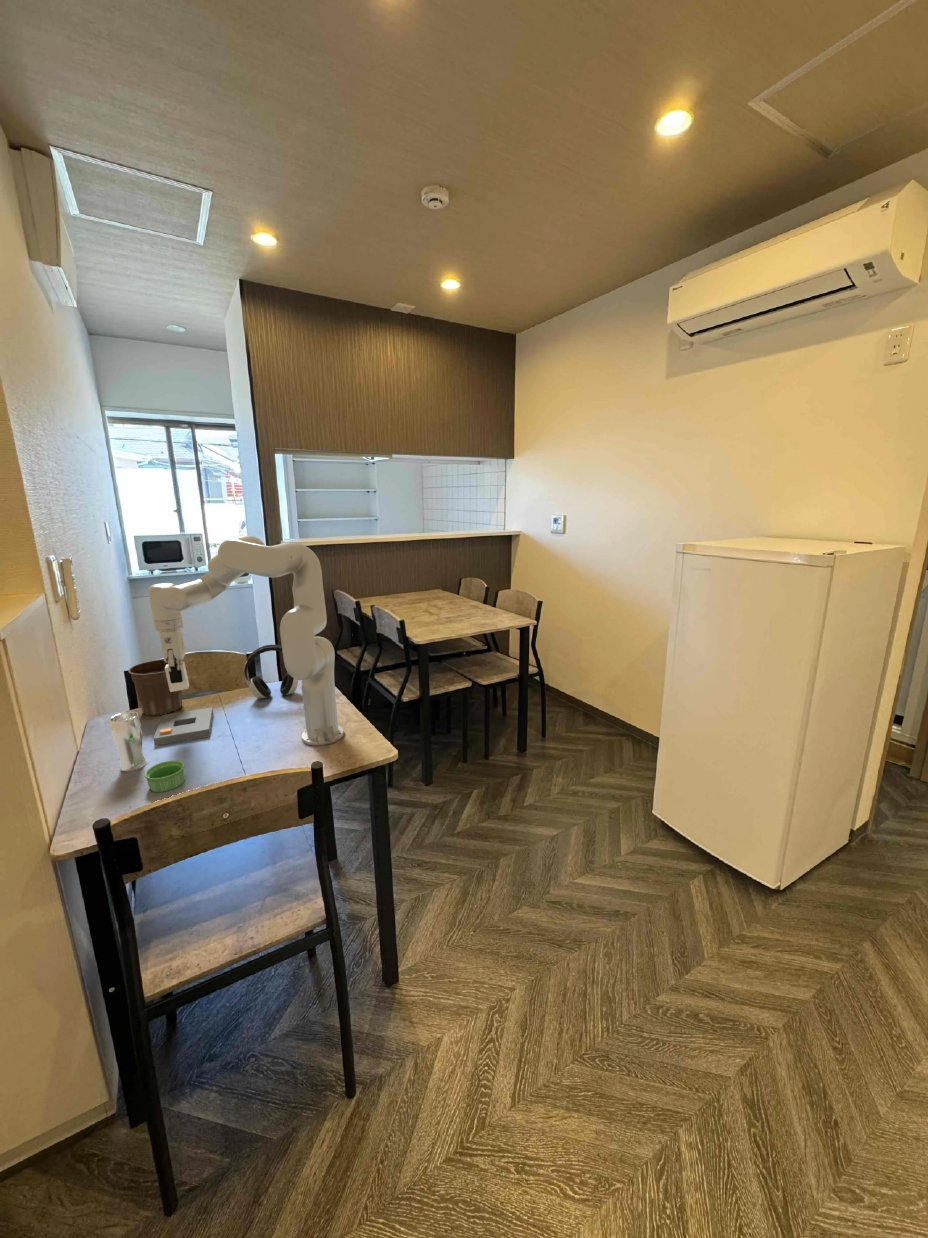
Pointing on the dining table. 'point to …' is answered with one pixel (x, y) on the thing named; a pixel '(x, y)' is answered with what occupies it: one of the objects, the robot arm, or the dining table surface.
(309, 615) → the robot arm
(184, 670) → the plug
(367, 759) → the dining table surface
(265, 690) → the headphones
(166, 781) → the ramekin
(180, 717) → the socket
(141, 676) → the plant pot
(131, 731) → the beer glass
